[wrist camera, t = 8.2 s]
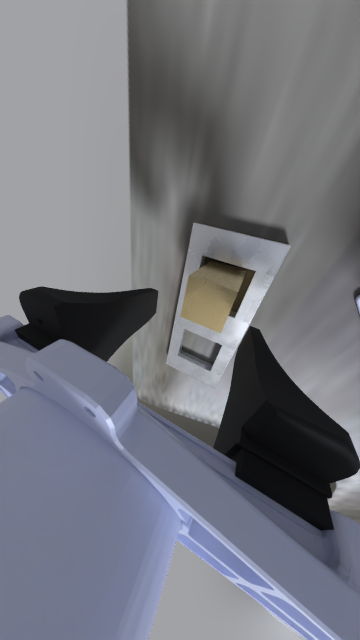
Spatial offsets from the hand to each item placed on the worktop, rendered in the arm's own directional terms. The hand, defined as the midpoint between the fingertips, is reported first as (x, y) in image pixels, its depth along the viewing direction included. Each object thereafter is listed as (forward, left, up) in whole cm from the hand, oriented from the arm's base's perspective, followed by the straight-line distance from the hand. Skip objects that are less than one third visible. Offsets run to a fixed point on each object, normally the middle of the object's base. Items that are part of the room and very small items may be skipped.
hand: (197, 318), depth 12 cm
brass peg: (0, 0, -9) cm, 9 cm away
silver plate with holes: (-4, +4, -9) cm, 10 cm away
